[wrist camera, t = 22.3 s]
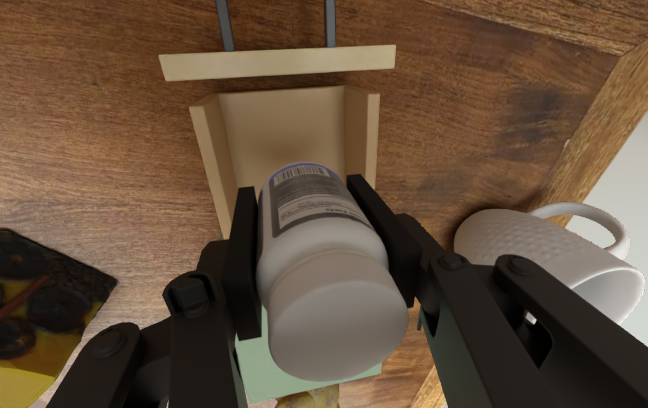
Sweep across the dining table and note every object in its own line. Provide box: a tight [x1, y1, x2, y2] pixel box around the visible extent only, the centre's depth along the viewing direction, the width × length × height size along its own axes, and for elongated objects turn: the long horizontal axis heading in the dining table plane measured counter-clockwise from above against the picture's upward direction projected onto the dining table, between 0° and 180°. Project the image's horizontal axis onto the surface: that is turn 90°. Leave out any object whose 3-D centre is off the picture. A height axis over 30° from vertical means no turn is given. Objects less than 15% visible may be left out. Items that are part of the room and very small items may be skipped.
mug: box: [454, 202, 646, 325], centre depth 28 cm, size 15×11×13 cm
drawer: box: [158, 0, 396, 240], centre depth 20 cm, size 21×12×7 cm, turn 2°
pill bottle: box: [255, 161, 409, 382], centre depth 11 cm, size 5×5×8 cm
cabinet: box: [219, 231, 382, 404], centre depth 28 cm, size 17×14×9 cm
